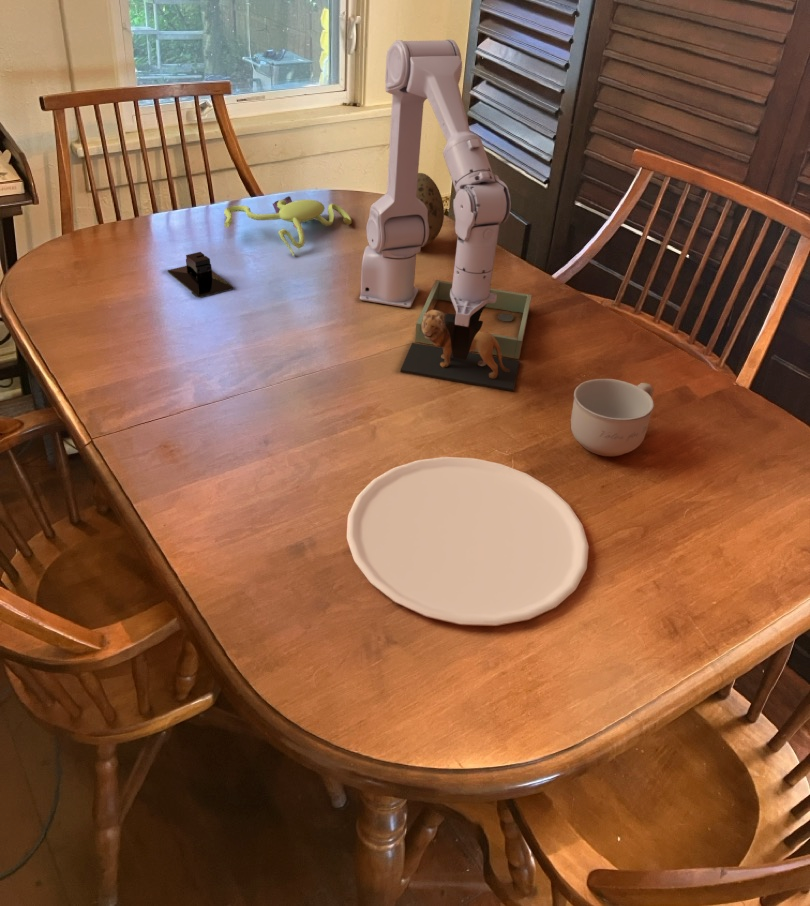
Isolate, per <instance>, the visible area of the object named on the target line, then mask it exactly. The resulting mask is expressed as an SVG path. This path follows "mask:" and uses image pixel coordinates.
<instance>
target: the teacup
mask: <svg viewBox="0 0 810 906" xmlns="http://www.w3.org/2000/svg"><path fill="white" fill-rule="evenodd" d="M653 396H654V388H653V386H652V384H650V383H647V382H641V383H639V384H637V385H636V384H633V383H630V382H628V381H624V380H620V379H613V378H593V379H589V380H586V381H583V382H582V383H580V384H578V386H576V388H575V389H574V391H573V403H572V409H571V417H570V430H571V433H572V435H573V437H574V439H575V440H576V441H577V442H578V443H579V444H580V445H581V446H582V447H583V448H584V449H585V450H587V451H589V452H591V453H592V454H595V455H599V456H602V457H618V456H619V457H620V456H622V455H624V454H627V453H630V452H632V451H634V450H636V449H637V448H638V447H639V446H640V445H641V444H642V443H643V441H644V440H645V437H646V434H647V431H648V427H649V424H650V420H651V416H652V412H653V411H654V407H655V402H654V400H653Z"/></svg>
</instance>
